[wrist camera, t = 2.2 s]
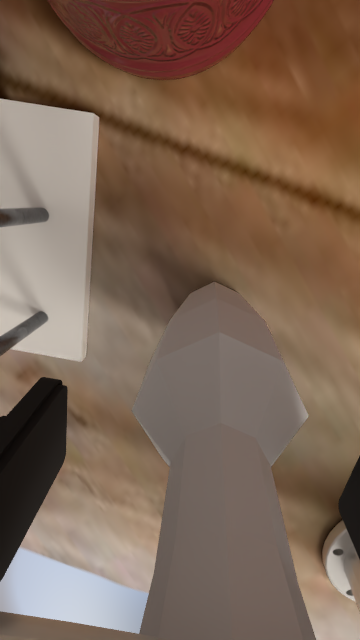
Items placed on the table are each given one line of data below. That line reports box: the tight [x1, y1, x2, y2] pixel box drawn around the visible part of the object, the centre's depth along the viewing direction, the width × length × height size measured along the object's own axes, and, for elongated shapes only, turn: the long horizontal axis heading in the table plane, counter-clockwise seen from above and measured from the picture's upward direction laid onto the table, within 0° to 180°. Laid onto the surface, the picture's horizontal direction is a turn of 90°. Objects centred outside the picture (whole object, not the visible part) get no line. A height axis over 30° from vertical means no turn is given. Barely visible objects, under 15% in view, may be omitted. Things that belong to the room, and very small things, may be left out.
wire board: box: [0, 99, 99, 362], centre depth 22 cm, size 12×16×1 cm
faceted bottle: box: [132, 282, 316, 640], centre depth 12 cm, size 6×6×22 cm
